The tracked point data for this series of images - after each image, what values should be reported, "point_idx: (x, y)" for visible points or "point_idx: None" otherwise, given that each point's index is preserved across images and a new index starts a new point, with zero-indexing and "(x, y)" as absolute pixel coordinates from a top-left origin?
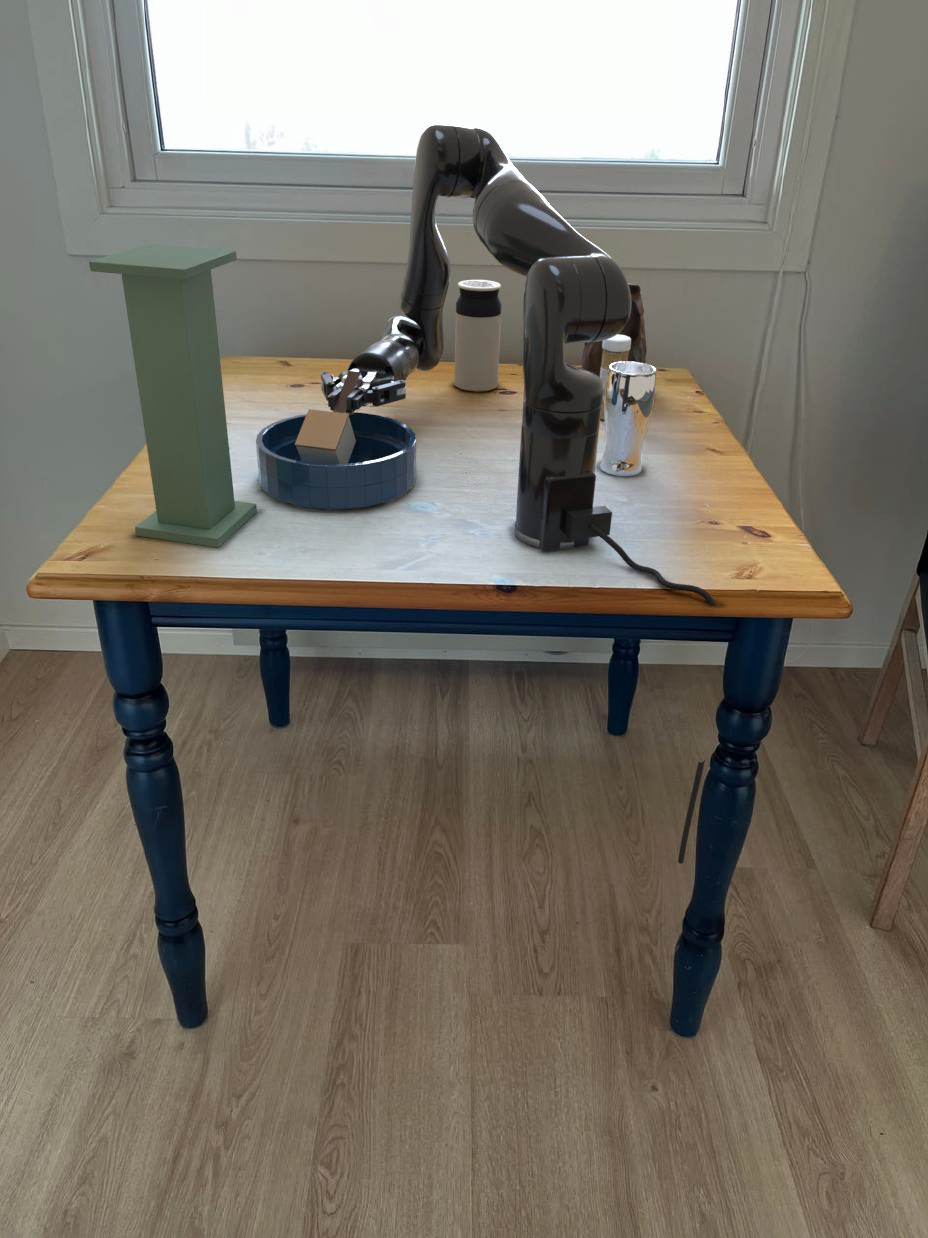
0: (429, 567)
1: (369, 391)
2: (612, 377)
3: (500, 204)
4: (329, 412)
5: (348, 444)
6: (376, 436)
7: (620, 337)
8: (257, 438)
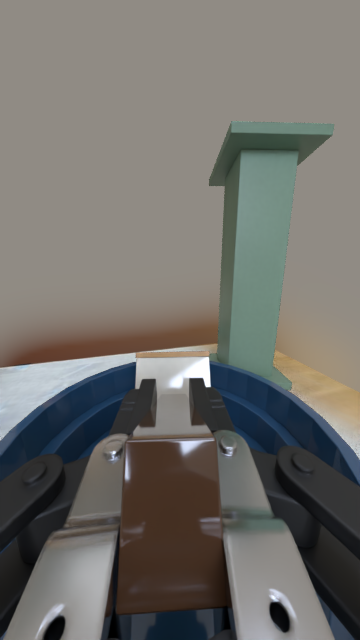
0: (68, 368)
1: (80, 476)
2: None
3: None
4: (170, 352)
5: None
6: None
7: None
8: (280, 387)
